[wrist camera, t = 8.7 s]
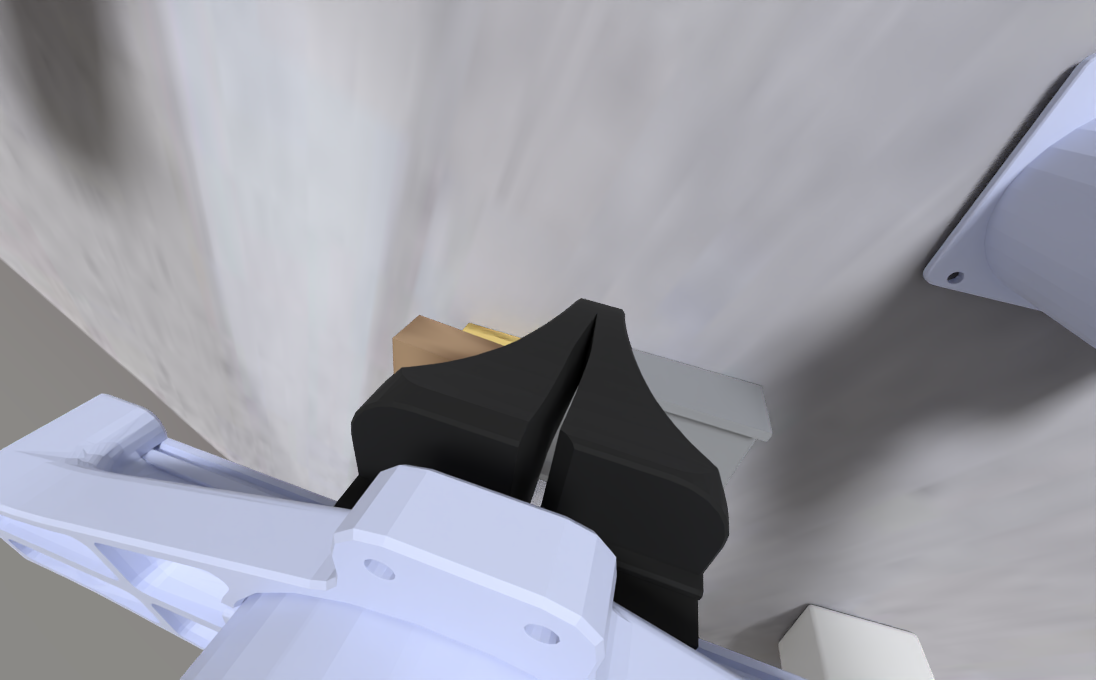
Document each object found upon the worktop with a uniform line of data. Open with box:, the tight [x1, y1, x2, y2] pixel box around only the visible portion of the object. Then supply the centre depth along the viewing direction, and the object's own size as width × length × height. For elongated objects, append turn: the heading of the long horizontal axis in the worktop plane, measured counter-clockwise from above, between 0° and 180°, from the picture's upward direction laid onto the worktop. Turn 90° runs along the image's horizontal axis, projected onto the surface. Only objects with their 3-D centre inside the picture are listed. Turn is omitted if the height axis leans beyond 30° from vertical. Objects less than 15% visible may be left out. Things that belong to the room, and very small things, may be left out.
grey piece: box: [539, 349, 773, 488], centre depth 24 cm, size 10×9×4 cm
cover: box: [393, 315, 504, 374], centre depth 24 cm, size 9×7×2 cm
